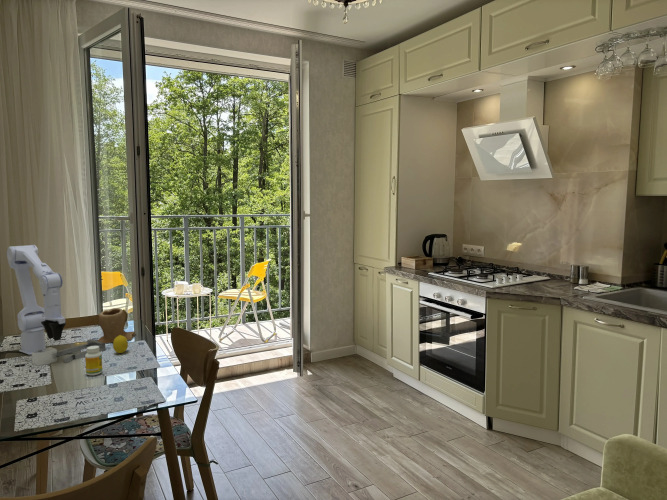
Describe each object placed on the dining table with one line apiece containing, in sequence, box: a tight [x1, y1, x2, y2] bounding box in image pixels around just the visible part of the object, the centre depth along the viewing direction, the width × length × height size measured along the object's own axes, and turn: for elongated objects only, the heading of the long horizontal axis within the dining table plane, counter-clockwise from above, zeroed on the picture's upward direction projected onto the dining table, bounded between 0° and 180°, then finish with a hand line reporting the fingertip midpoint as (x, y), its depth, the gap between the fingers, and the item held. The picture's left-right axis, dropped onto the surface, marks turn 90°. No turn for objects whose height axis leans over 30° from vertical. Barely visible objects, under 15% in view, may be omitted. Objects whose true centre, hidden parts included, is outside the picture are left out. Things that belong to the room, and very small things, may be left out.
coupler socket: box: [57, 339, 107, 364], centre depth 195 cm, size 13×17×4 cm
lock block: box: [31, 346, 58, 367], centre depth 185 cm, size 4×7×5 cm, turn 147°
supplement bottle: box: [84, 346, 103, 376], centre depth 173 cm, size 5×5×10 cm
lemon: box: [112, 335, 129, 354], centre depth 195 cm, size 6×6×8 cm
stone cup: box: [97, 307, 136, 345], centre depth 211 cm, size 15×12×15 cm
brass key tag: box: [74, 341, 87, 347], centre depth 206 cm, size 6×3×2 cm, turn 76°
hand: (54, 339), depth 187 cm, fingers open, 4 cm apart
